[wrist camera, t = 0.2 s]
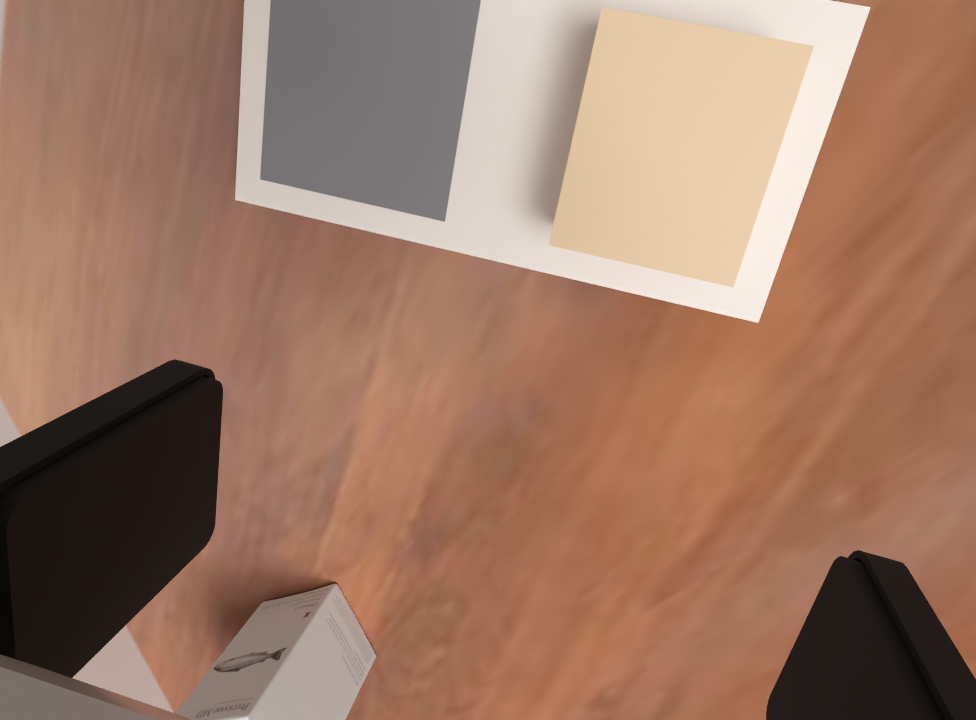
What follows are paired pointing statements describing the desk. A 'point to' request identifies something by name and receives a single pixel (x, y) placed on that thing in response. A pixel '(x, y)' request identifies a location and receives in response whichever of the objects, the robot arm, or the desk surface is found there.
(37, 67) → the desk surface
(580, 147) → the kraft carton
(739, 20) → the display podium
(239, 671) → the supplement box
